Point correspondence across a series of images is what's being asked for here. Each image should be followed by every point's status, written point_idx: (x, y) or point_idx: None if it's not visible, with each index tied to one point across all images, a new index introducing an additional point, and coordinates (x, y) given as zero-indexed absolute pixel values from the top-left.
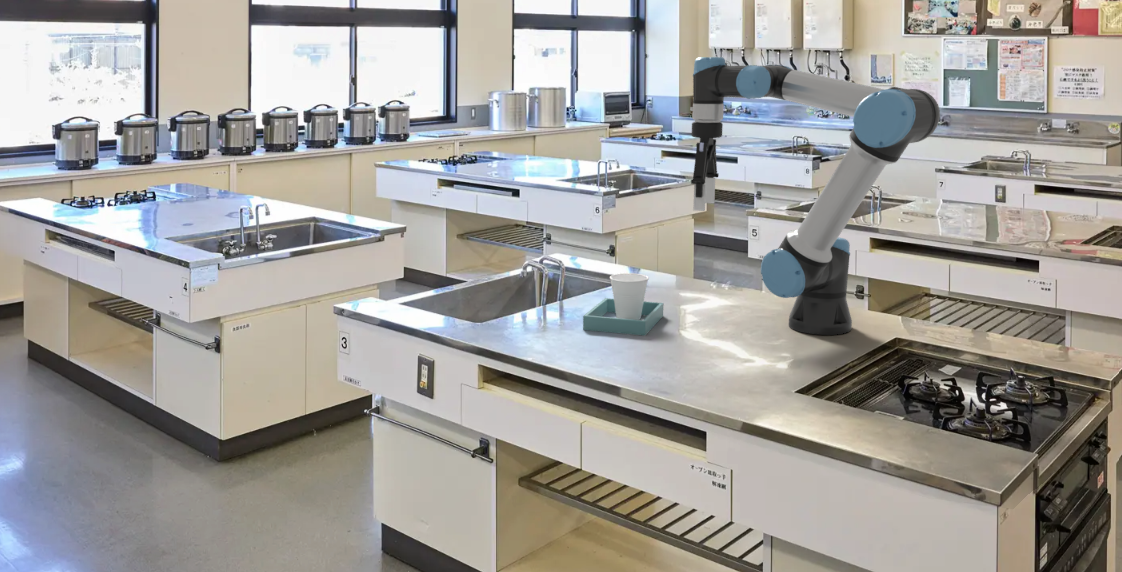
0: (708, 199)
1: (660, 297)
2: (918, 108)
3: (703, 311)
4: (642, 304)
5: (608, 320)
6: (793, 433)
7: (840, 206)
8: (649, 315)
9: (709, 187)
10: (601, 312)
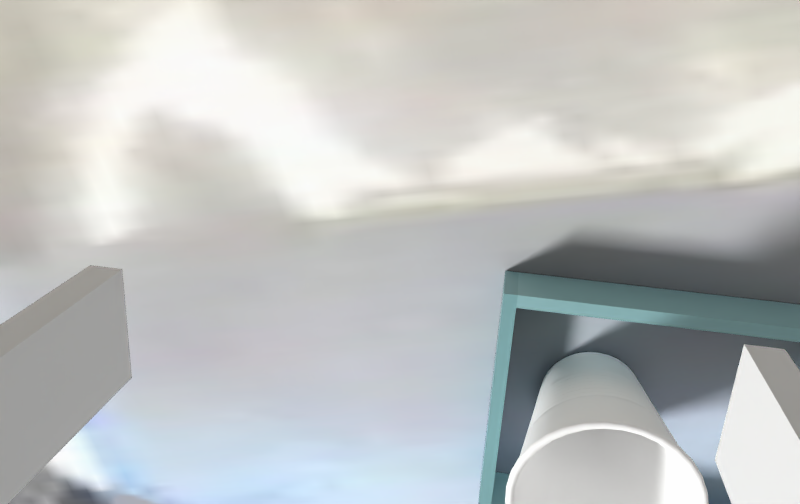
0: (105, 348)
1: (198, 308)
2: None
3: (375, 112)
4: (610, 376)
5: None
6: None
7: None
8: (754, 330)
9: (7, 425)
10: None
